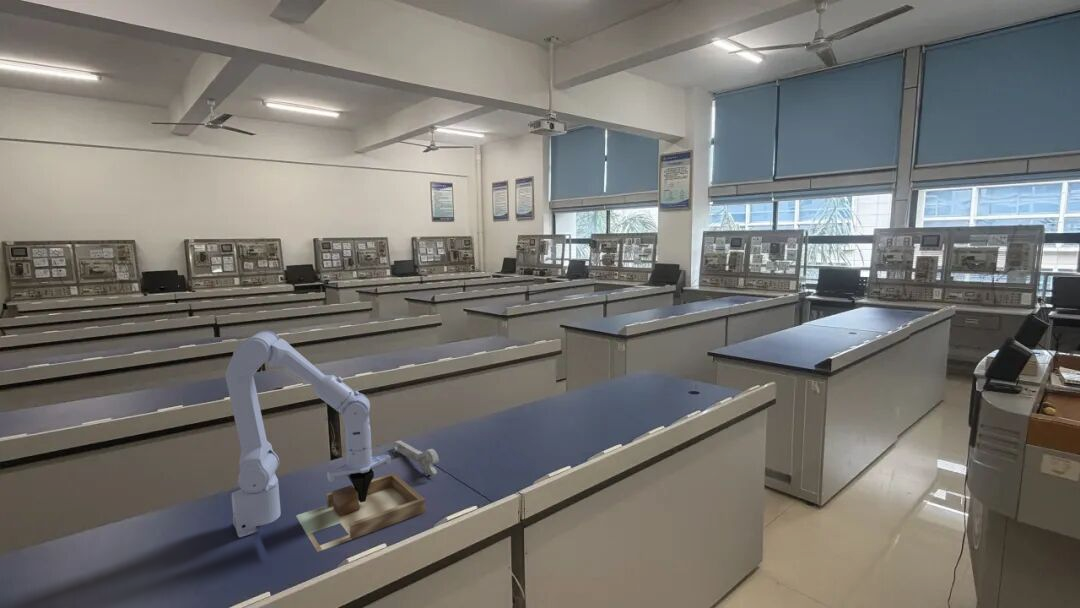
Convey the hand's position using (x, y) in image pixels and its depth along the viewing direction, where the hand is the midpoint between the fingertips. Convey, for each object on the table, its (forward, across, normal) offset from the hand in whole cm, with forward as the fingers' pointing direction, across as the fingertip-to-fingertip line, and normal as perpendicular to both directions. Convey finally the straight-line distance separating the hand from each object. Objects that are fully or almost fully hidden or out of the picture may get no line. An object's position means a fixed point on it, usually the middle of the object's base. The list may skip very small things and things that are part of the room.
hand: (361, 500), depth 120 cm
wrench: (+3, +21, +15) cm, 26 cm away
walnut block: (+1, -4, 0) cm, 4 cm away
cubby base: (+2, -2, -4) cm, 5 cm away
